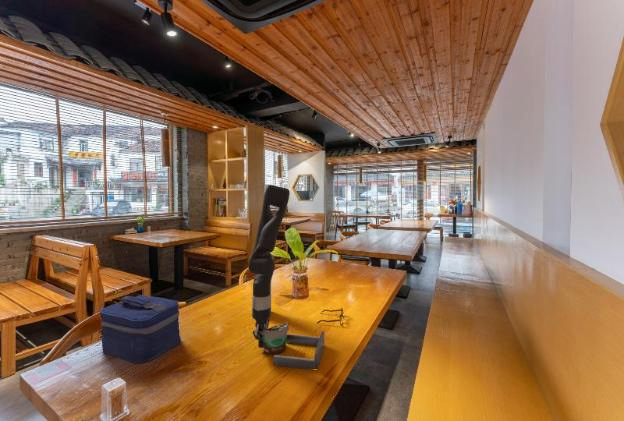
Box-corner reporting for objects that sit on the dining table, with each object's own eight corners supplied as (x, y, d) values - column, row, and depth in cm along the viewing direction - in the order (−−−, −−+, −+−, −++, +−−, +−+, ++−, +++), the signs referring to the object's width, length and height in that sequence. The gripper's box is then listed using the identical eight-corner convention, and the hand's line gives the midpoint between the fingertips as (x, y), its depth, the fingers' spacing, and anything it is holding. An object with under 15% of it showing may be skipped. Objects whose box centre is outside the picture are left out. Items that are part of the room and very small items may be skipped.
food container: (266, 360, 107) (266, 335, 106) (260, 352, 112) (260, 328, 111) (294, 350, 114) (294, 326, 113) (287, 343, 119) (287, 321, 118)
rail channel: (273, 365, 104) (273, 349, 103) (286, 341, 121) (286, 327, 120) (317, 370, 101) (317, 354, 100) (324, 345, 118) (324, 331, 117)
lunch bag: (89, 350, 113) (87, 301, 111) (137, 327, 132) (136, 285, 131) (144, 367, 102) (143, 313, 101) (188, 339, 122) (187, 294, 120)
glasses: (341, 327, 135) (341, 317, 135) (315, 324, 137) (315, 315, 137) (343, 316, 148) (344, 306, 148) (319, 313, 150) (319, 304, 150)
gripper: (259, 298, 120) (259, 338, 120) (246, 311, 107) (245, 354, 107) (275, 300, 118) (275, 339, 119) (264, 312, 105) (264, 357, 106)
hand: (261, 346), depth 113 cm, fingers closed
